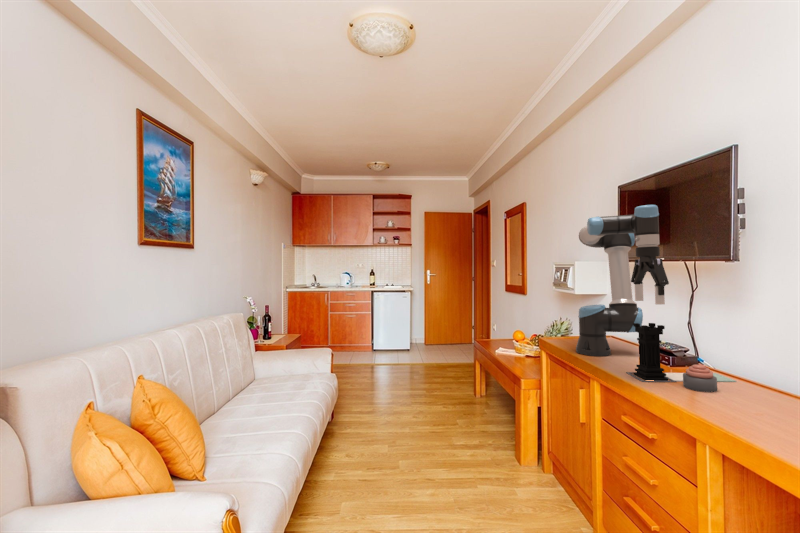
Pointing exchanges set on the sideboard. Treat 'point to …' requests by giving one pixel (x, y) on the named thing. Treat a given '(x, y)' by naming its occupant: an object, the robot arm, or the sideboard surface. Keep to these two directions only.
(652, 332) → the chess piece
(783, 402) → the sideboard surface
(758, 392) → the sideboard surface
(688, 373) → the pink swirled mound
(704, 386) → the base
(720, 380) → the board
